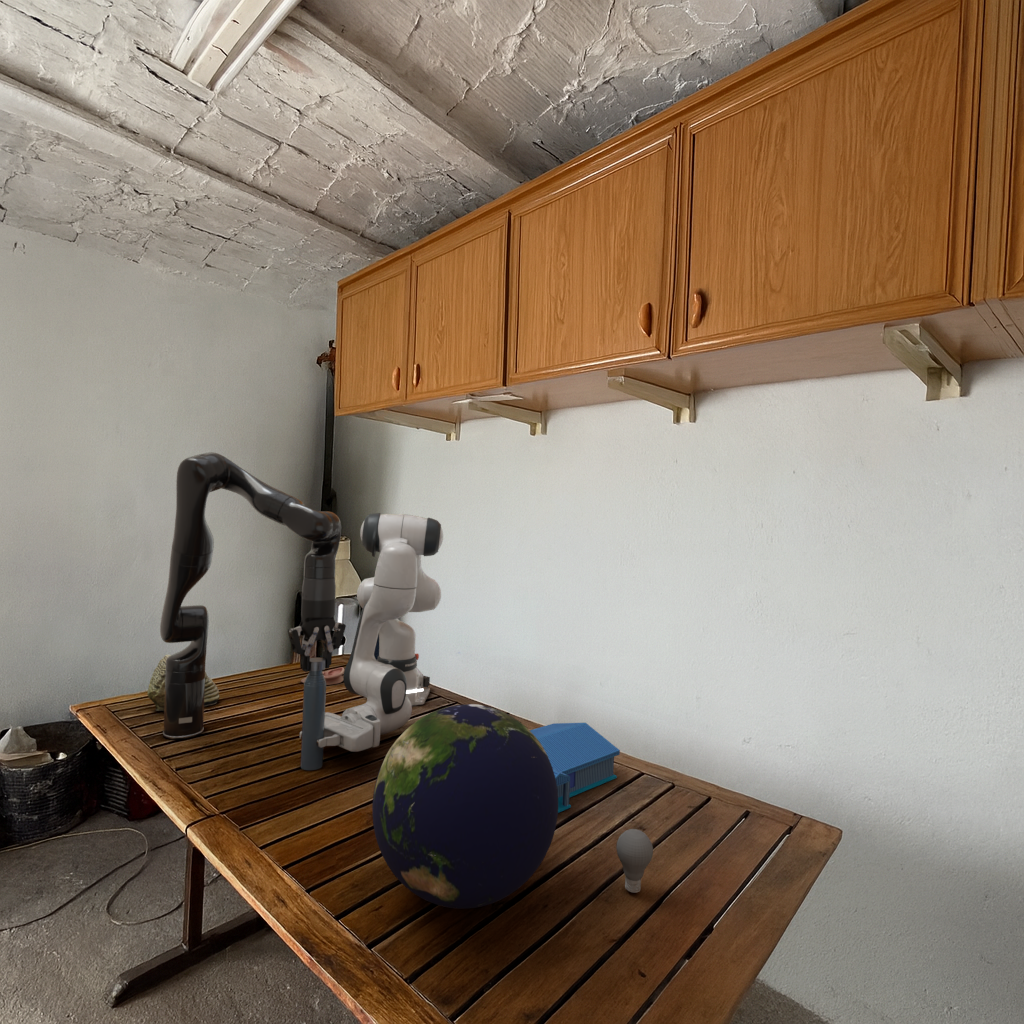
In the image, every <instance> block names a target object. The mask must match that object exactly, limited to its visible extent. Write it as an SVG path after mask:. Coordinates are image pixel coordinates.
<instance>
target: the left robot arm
mask: <svg viewBox="0 0 1024 1024" xmlns="http://www.w3.org/2000/svg"><path fill="white" fill-rule="evenodd" d="M175 482H176V484H175V485H176V487H175V489H176V490H175V491H176V492H175V493H176V501H175V503H176V504H175V505H176V506H175V507H176V508H175V518H174V519H175V520H174V530H173V537H172V544H171V549H170V557H169V558H170V559H169V571H168V579H167V581H168V582H167V588H166V593H165V598H164V603H163V608H162V611H161V618H160V623H159V634H160V638H161V640H162V641H163V642H164V643H167V644H178V643H189V642H190V643H189V644H188V645H187V646H186V647H185V648H183V649H182V650H179V651H177V652H175V653H173V654H170V655H171V656H169V657H168V658H167V660H166V674H165V705H164V710H163V731H162V737H164V738H166V739H169V740H185V739H190V738H191V739H192V738H194V737H197V736H199V735H202V734H203V732H204V730H205V729H204V722H205V721H204V718H205V706H204V693H205V672H206V664H207V663H206V660H207V648H208V647H207V645H208V636H209V635H208V634H209V625H210V624H209V623H210V617H209V611H208V609H207V607H206V606H205V605H203V604H198V605H197V604H195V605H193V604H192V605H182V604H183V603H184V600H185V598H186V597H187V595H188V593H189V592H190V591H191V590H192V589H193V588H194V587H195V586H196V585H197V584H198V583H199V582H200V581H201V580H202V578H203V577H204V576H205V575H206V574H207V573H208V571H209V570H210V568H211V565H212V562H213V561H212V560H213V553H214V547H215V539H214V536H213V533H212V531H211V528H210V527H209V525H208V522H207V519H206V507H207V501H208V497H209V494H210V493H212V492H215V491H218V490H225V491H229V492H233V493H235V494H237V495H238V496H241V497H242V498H244V499H245V500H246V501H247V502H248V503H249V505H250V506H251V508H253V509H254V510H255V511H256V512H258V514H260V515H261V516H263V517H265V518H267V519H269V520H271V521H273V522H275V523H278V524H279V525H282V526H285V527H286V528H287V529H289V530H291V531H292V532H293V533H294V534H295V535H297V536H299V537H301V538H302V539H305V540H306V541H310V542H312V543H311V549H310V551H309V552H308V553H306V555H305V556H304V563H303V581H302V586H301V607H300V608H301V609H300V611H301V612H300V617H301V621H300V623H299V625H298V626H296V627H289V628H288V629H287V634H288V638H289V642H290V646H291V650H292V651H291V652H293V653H295V654H296V655H299V656H300V660H299V667H300V669H301V671H303V672H305V673H309V667H310V658H311V656H310V653H311V650H312V647H313V646H314V644H315V642H317V641H320V642H321V644H322V648H323V651H322V658H324V659H326V664H325V669H330V666H332V658H333V656H332V655H333V651H335V650H336V649H337V650H338V649H340V648H341V644H342V641H343V637H344V634H345V632H346V631H345V630H346V628H347V625H346V624H345V623H343V622H340V621H339V622H336V620H335V614H336V595H337V594H336V592H337V591H336V590H337V589H336V588H337V586H336V585H337V584H336V558H337V554H338V552H339V547H340V543H341V539H342V522H341V520H340V518H339V516H338V515H337V514H336V513H334V512H333V511H329V510H328V511H327V510H325V511H323V510H322V511H321V510H320V511H318V510H315V509H312V508H310V507H308V506H307V505H305V503H304V502H303V501H302V500H300V499H299V498H297V497H294V496H293V495H291V494H288V493H286V492H284V491H282V490H279V489H278V488H275V487H273V486H271V485H269V484H268V483H266V482H264V481H262V480H261V479H259V478H258V477H256V476H254V475H253V474H251V473H250V472H249V471H246V469H244V468H242V467H240V466H239V465H238V464H236V463H235V462H234V461H232V460H231V459H229V458H228V457H226V456H224V455H222V454H220V453H218V452H213V451H211V452H203V453H200V454H195V455H192V456H189V457H185V458H184V459H183V460H182V461H181V462H180V463H179V465H178V467H177V471H176V481H175ZM332 631H333V633H332V635H331V632H332ZM301 633H302V634H303V635H302V640H300V637H301Z"/></svg>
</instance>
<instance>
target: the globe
mask: <svg viewBox="0 0 1024 1024" xmlns="http://www.w3.org/2000/svg"><path fill="white" fill-rule="evenodd" d="M530 730H531V729H529V728H527V726H525V725H524V724H523V723H522V722H520V721H519V720H518V719H516V718H515V717H514V716H512V715H510V714H509V713H506V712H504V711H502V710H499V709H497V708H494V707H491V706H487V705H482V704H478V703H477V704H475V703H468V704H467V703H466V704H465V703H464V704H455V705H450V706H449V705H448V706H445V707H442V708H439V709H437V710H434V711H432V712H429V713H428V714H425V715H424V716H422V717H420V719H417V720H416V721H415V722H413V723H412V724H411V725H410V726H408V727H407V728H406V729H405V730H404V731H403V732H402V734H401V735H400V736H398V737H397V738H396V740H395V741H394V742H393V744H392V745H391V747H390V748H389V749H388V751H387V753H386V755H385V757H384V760H383V761H382V763H381V765H380V768H379V771H378V774H377V776H376V781H375V784H374V789H373V796H372V804H371V805H372V807H371V809H372V824H373V829H374V836H375V839H376V843H377V846H378V849H379V852H380V853H381V856H382V858H383V860H384V861H385V863H386V865H387V866H388V868H389V871H391V873H392V874H393V875H394V876H395V878H396V879H397V880H398V881H399V882H400V883H401V884H402V885H403V886H404V887H405V888H406V889H407V890H409V891H410V892H411V893H413V895H415V896H417V897H419V898H421V899H422V900H425V901H426V902H429V903H431V904H434V905H437V906H440V907H444V908H448V909H457V910H465V909H466V910H467V909H469V910H470V909H477V908H481V907H486V906H489V905H492V904H494V903H497V902H499V901H502V900H504V899H505V898H508V896H510V895H512V894H513V893H515V892H516V891H518V890H519V889H520V888H521V887H523V885H524V884H526V883H527V882H528V880H530V879H531V878H532V877H533V875H534V874H535V873H536V871H537V870H538V869H539V867H540V866H541V865H542V862H543V861H544V859H545V857H546V855H547V854H548V851H549V849H550V847H551V844H552V842H553V839H554V836H555V832H556V829H557V828H556V827H557V822H558V816H559V813H558V791H557V784H556V779H555V775H554V772H553V768H552V765H551V763H550V761H549V758H548V756H547V753H546V752H545V750H544V748H543V747H542V745H541V743H540V742H539V741H538V739H537V738H536V737H535V736H534V735H533V734H532V733H531V732H530Z"/></svg>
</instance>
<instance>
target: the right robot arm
mask: <svg viewBox="0 0 1024 1024" xmlns="http://www.w3.org/2000/svg"><path fill="white" fill-rule="evenodd" d="M359 535H360V540H361V544H362V546H363V547H364V549H365V550H366V551H367V552H369V553H370V554H371V557H373V558H375V557H376V554H377V553H379V555H378V559H377V562H376V567H375V571H374V576H373V577H367V578H363V580H361V582H360V584H359V585H358V587H357V590H356V600H357V603H358V604H359V606H360V607H361V611H360V615H359V619H358V622H357V627H356V631H355V635H354V640H353V643H352V648H351V653H350V655H349V659H348V661H347V663H346V665H345V668H344V673H343V675H342V677H343V679H344V680H343V685H344V687H345V689H346V690H347V691H348V693H351V694H354V695H357V696H361V697H364V698H366V701H365V703H363V704H359V705H355V706H352V707H349V708H346V709H345V710H344V711H343V712H342V714H341V715H339V714H336V713H333V712H327V711H325V728H324V737H321V738H318V739H317V740H316V746H318V747H320V748H322V747H324V748H325V747H336V746H337V747H339V748H342V749H344V750H346V751H348V752H352V753H357V752H361V751H365V750H368V749H370V748H377V747H379V746H380V743H381V742H380V741H381V736H383V735H387V734H389V733H392V732H394V731H396V730H398V729H400V728H402V727H403V726H405V725H406V724H407V723H408V722H409V720H410V719H411V717H412V713H413V709H412V708H413V706H422V705H425V703H426V700H427V699H428V697H429V694H430V693H431V688H430V685H431V684H430V683H431V677H430V676H427V675H424V673H423V672H421V670H420V669H419V668H418V660H419V658H420V654H419V653H416V637H417V635H416V631H415V629H414V628H413V627H412V626H411V625H409V624H407V623H406V622H404V621H401V620H400V618H402V617H404V616H406V615H407V614H408V613H423V612H428V611H429V612H430V611H434V610H435V609H436V608H437V607H438V606H439V604H440V602H441V599H442V589H441V587H440V584H439V583H438V581H436V579H433V578H431V577H430V576H429V575H428V574H427V573H426V572H425V571H424V569H423V567H422V556H423V557H431V556H435V555H436V554H438V552H439V550H440V548H441V547H442V545H443V542H444V531H443V528H442V524H441V523H440V522H439V520H437V519H435V518H432V517H423V516H419V515H412V514H408V513H407V514H406V513H401V514H399V513H381V512H374V513H369V514H368V515H366V516H365V518H364V520H363V522H362V524H361V525H360V531H359ZM377 642H378V644H379V645H378V648H379V649H378V655H377V659H376V657H375V651H376V646H377ZM299 740H302V730H301V731H300V732H299Z"/></svg>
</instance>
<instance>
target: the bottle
mask: <svg viewBox="0 0 1024 1024" xmlns="http://www.w3.org/2000/svg"><path fill="white" fill-rule="evenodd" d="M322 672H323V670H321V671H308V674H307V675H306V677H307V678H306V677H305V678H306V680H305V682H304V683H303V695H302V696H303V699H302V718H301V721H302V722H301V731H302V739H301V745H300V769H302V770H304V771H317V770H320V769H321V768H322V767H323V766H324V748H325V747H322V748H320V747H318V746H316V740H317V739H318V738H321V737H324V728H325V712H326V701H327V685H326V680H325V677H324V675H323V673H322Z"/></svg>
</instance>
